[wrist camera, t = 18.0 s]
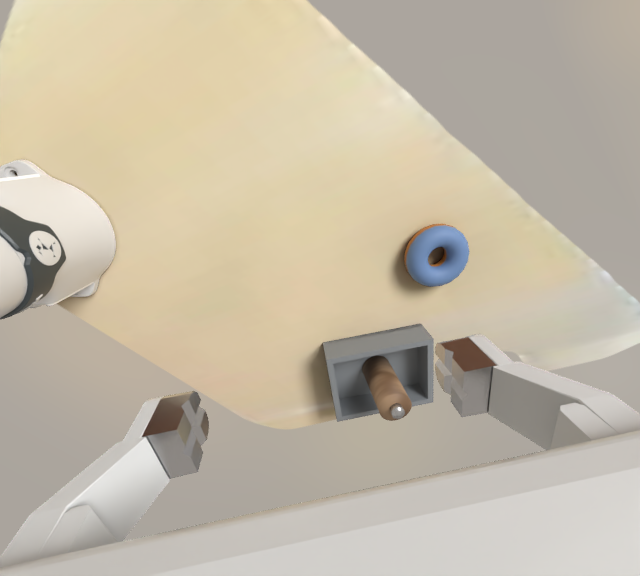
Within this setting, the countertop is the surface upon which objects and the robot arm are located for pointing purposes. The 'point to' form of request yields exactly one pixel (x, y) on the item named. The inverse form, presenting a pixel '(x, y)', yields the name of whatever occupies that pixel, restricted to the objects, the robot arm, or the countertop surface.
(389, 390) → the pepper mill
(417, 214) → the countertop surface
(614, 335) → the countertop surface
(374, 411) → the bin
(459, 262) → the doughnut
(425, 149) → the countertop surface
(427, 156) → the countertop surface
